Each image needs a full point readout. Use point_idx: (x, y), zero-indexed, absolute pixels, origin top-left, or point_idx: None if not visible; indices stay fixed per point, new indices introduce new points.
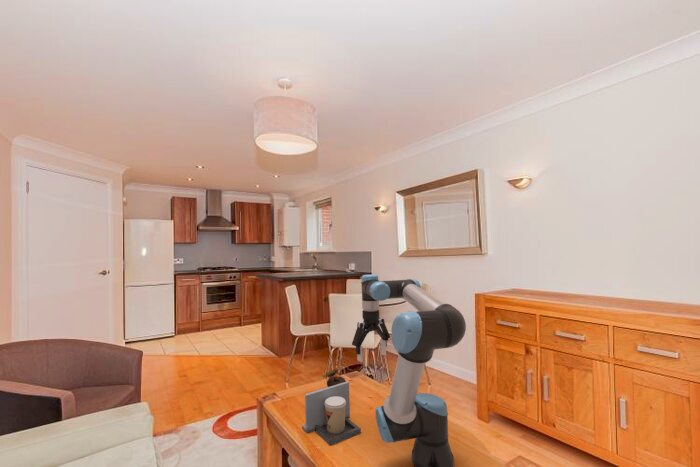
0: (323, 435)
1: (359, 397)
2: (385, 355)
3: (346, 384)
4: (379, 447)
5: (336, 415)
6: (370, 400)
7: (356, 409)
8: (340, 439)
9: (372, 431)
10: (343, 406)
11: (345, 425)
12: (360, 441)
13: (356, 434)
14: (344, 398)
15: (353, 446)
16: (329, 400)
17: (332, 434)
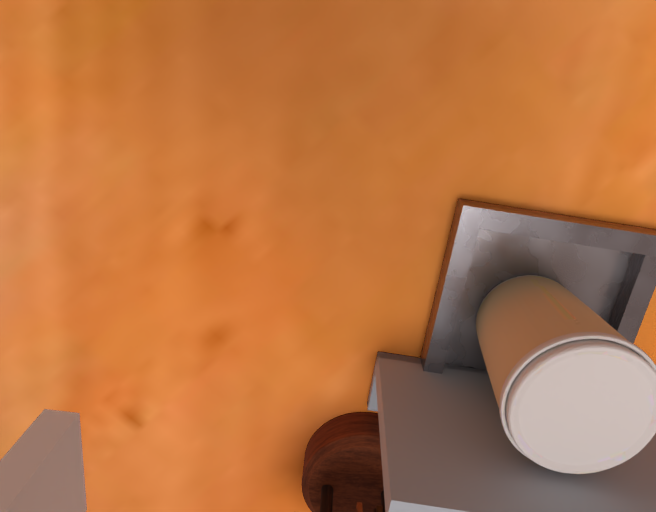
0: (642, 307)
1: (183, 454)
2: (62, 412)
3: (416, 496)
4: (499, 15)
5: (609, 325)
6: (157, 393)
7: (290, 380)
8: (599, 223)
9: (398, 161)
10: (579, 332)
11: (465, 305)
12: (523, 141)
13: (488, 204)
14: (425, 429)
15: (587, 135)
16: (602, 445)
17: (579, 292)
